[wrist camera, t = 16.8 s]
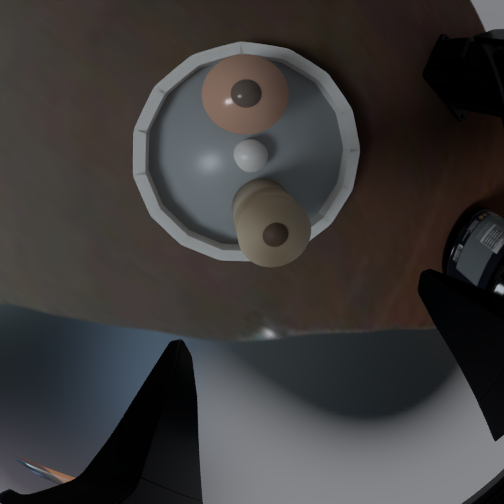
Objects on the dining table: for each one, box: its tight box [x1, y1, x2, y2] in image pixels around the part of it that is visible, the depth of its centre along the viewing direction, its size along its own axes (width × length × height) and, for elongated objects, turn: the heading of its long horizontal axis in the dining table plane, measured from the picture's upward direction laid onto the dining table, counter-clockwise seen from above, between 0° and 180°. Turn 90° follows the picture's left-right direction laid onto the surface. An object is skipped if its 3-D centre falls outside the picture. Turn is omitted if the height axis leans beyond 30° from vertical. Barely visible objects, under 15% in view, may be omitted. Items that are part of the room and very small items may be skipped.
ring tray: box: [133, 42, 360, 261], centre depth 17 cm, size 14×14×2 cm
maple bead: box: [232, 178, 311, 267], centre depth 16 cm, size 4×4×5 cm
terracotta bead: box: [202, 54, 289, 134], centre depth 13 cm, size 4×4×5 cm
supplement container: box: [442, 207, 504, 297], centre depth 20 cm, size 10×10×12 cm
